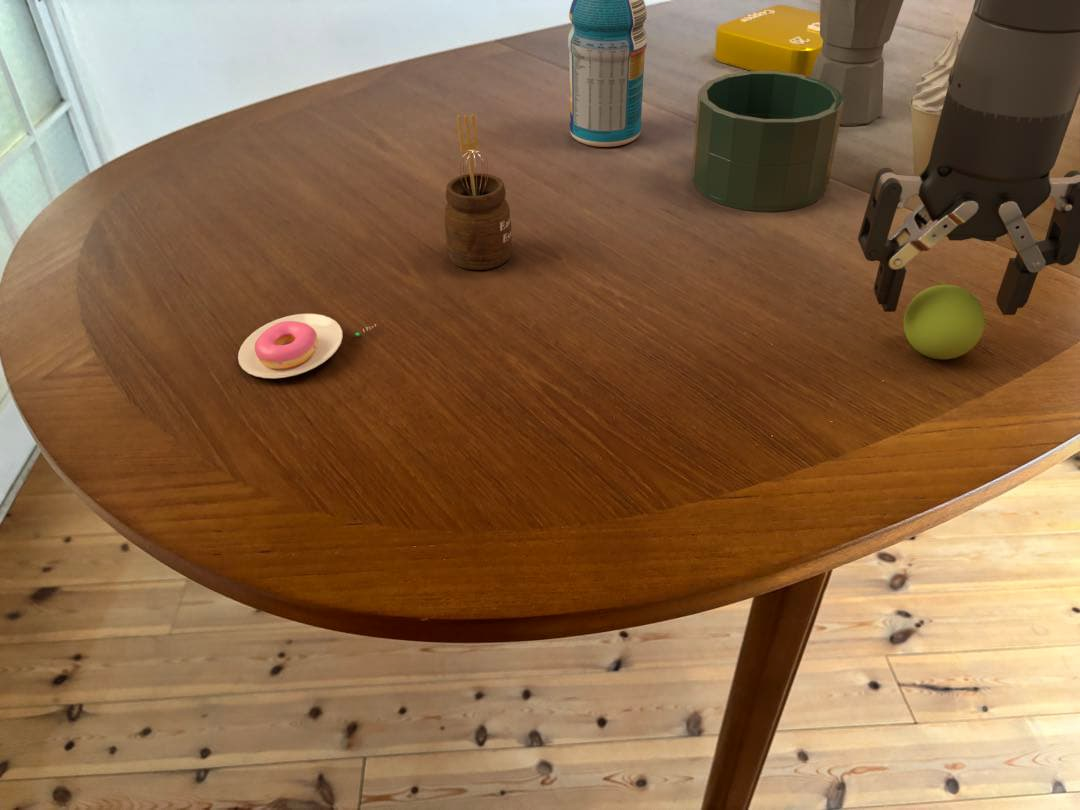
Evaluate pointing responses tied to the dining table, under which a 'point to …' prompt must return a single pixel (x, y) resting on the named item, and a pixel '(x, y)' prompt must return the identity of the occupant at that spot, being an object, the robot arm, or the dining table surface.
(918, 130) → the ice cream cone
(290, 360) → the donut
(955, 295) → the guava
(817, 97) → the pot
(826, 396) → the dining table surface
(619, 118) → the beverage bottle
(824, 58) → the coffeepot
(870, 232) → the robot arm
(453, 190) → the utensil holder
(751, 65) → the element tile
